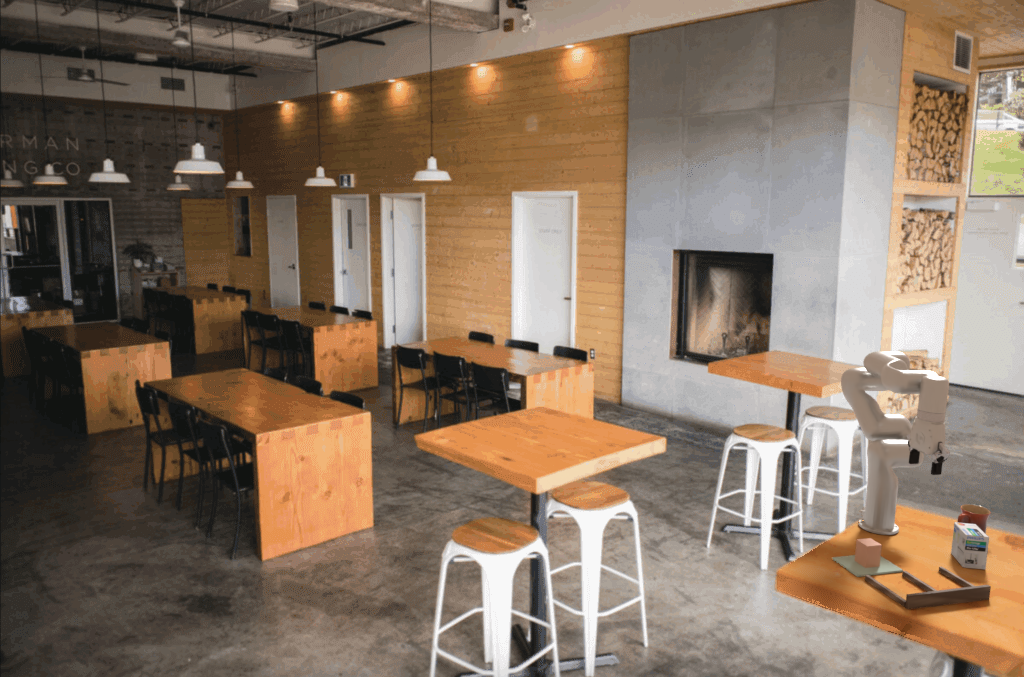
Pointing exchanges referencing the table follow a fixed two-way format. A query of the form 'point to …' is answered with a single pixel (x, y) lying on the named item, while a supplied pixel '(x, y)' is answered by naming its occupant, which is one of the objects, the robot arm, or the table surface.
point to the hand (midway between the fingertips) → (924, 468)
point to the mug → (974, 516)
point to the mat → (860, 571)
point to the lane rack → (935, 592)
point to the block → (868, 552)
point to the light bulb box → (970, 545)
